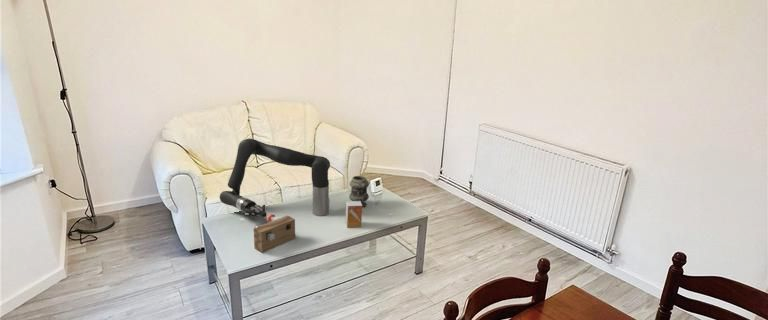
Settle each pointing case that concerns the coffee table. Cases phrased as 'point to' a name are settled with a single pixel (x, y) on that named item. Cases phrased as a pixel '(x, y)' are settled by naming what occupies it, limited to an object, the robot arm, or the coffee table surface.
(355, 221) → the small box
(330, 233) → the coffee table surface
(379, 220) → the coffee table surface
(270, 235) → the grey plunger
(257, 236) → the walnut housing
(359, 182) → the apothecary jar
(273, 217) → the red plunger
